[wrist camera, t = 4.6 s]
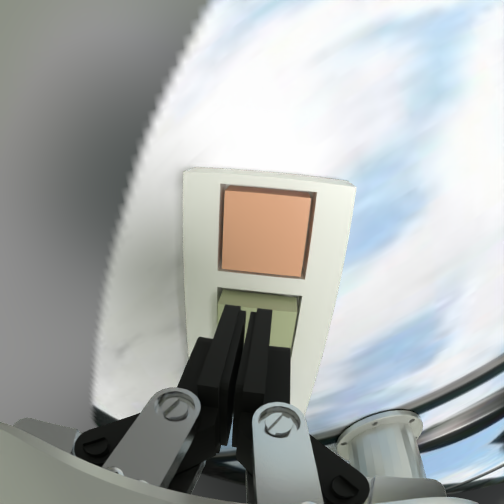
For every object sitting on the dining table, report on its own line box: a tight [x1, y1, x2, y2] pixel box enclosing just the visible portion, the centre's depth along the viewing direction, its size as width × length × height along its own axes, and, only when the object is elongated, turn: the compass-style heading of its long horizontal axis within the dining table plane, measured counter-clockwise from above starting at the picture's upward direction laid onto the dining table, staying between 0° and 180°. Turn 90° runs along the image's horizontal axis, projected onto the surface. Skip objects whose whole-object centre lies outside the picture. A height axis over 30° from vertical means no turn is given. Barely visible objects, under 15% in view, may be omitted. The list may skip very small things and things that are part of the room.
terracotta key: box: [222, 185, 311, 277], centre depth 22 cm, size 6×6×2 cm
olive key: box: [217, 290, 297, 349], centre depth 24 cm, size 6×6×2 cm
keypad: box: [183, 167, 356, 416], centre depth 26 cm, size 24×12×3 cm, turn 176°
